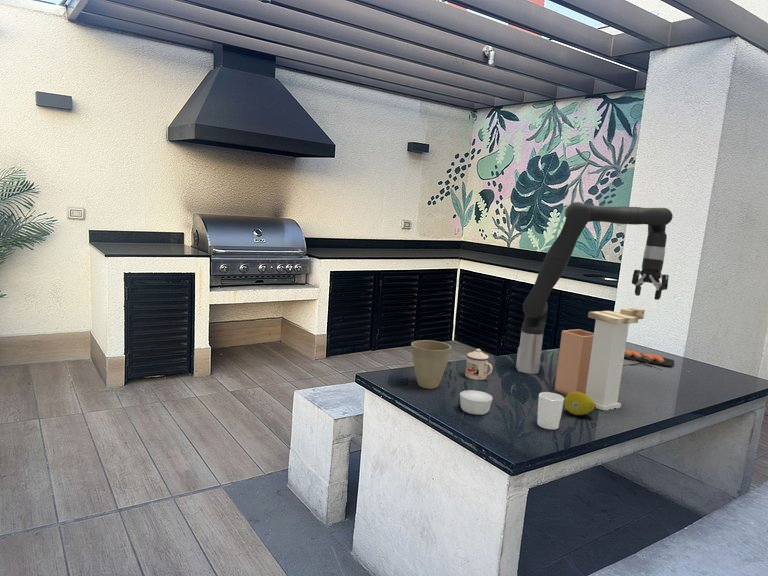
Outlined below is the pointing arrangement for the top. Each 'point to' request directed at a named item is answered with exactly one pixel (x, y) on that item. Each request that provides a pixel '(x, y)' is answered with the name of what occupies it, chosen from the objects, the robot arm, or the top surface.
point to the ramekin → (475, 402)
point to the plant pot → (429, 362)
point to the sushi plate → (647, 359)
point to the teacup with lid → (477, 365)
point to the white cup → (549, 410)
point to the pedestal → (606, 364)
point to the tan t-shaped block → (618, 316)
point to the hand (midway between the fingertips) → (647, 297)
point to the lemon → (578, 403)
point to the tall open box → (574, 361)
